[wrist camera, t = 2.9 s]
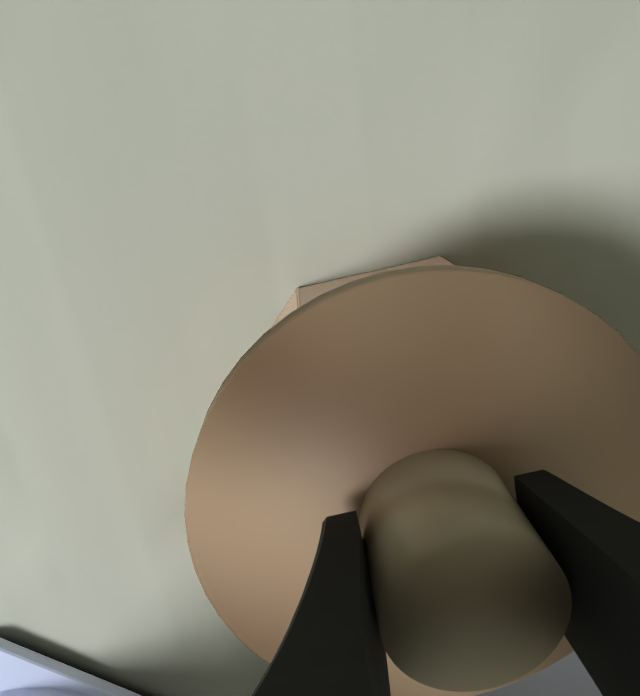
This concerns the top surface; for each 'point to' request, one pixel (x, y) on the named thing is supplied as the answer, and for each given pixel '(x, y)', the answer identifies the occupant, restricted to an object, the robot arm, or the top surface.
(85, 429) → the top surface
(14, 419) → the top surface
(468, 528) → the lid
